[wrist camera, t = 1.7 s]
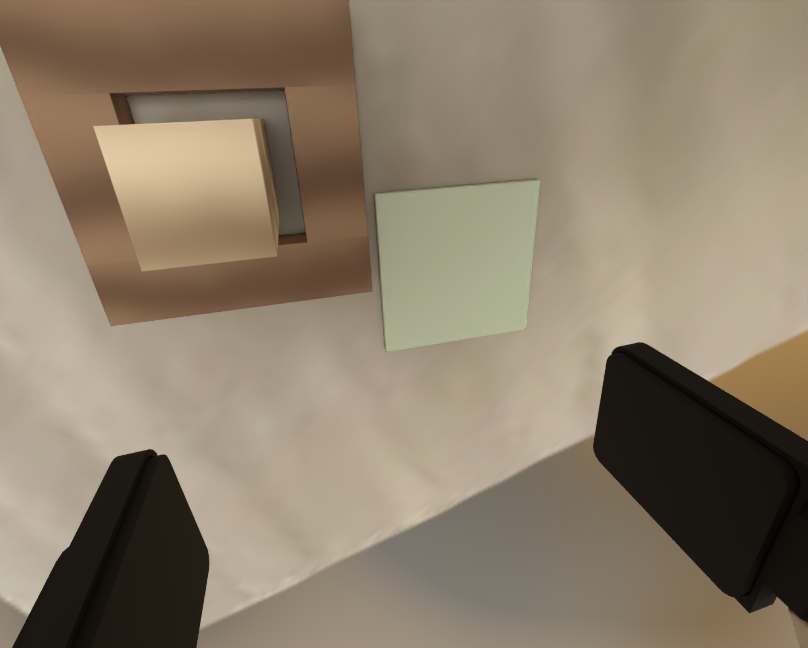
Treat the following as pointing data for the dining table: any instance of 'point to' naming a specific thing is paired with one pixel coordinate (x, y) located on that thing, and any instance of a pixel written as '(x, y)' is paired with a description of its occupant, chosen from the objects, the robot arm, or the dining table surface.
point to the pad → (455, 261)
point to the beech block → (194, 190)
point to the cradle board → (196, 73)
